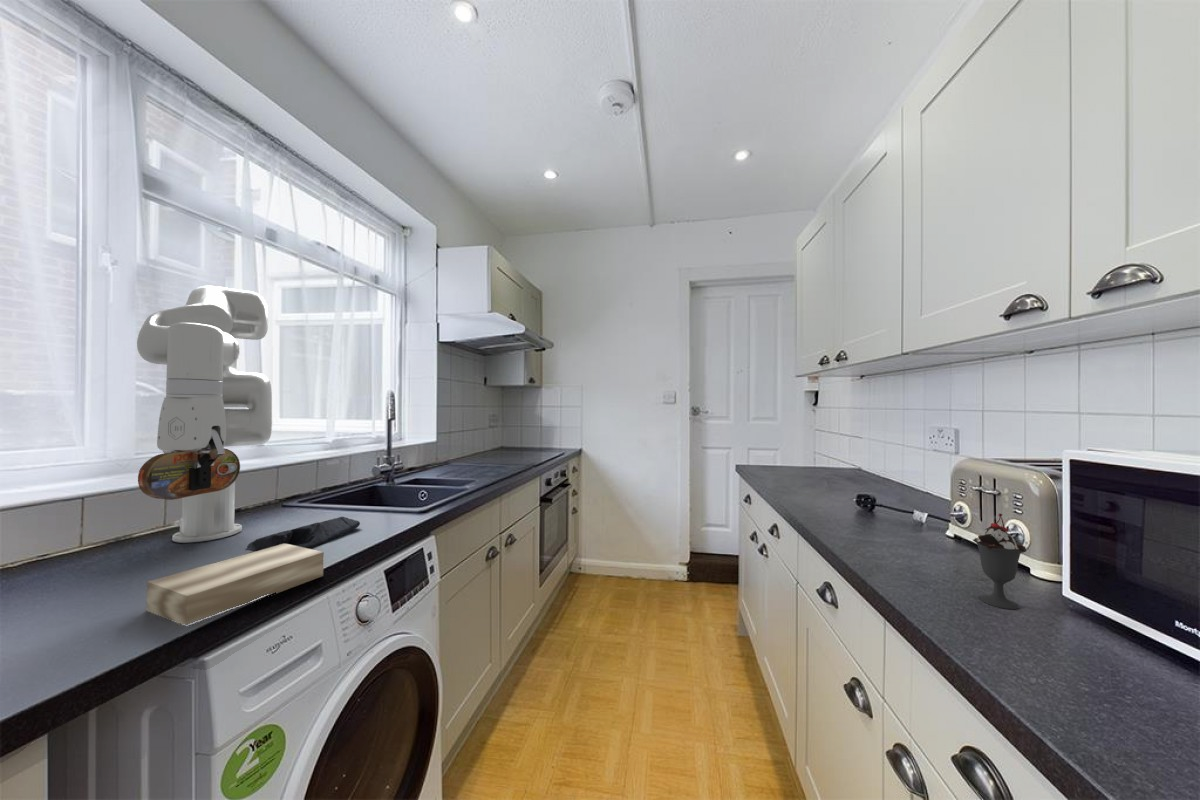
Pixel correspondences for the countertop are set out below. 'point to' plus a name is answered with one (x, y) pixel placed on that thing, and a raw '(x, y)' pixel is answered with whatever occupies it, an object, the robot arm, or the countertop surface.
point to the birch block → (232, 582)
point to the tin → (184, 475)
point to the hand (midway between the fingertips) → (192, 487)
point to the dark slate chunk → (307, 534)
